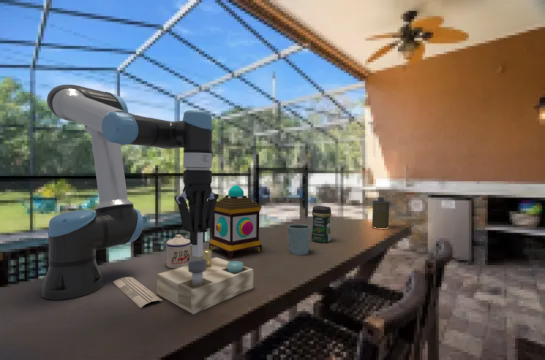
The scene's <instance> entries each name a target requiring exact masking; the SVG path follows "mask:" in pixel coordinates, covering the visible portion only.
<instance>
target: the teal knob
mask: <svg viewBox="0 0 545 360" xmlns="http://www.w3.org/2000/svg"><path fill="white" fill-rule="evenodd" d="M243 266H244V263H243V262H242V261H239V260H234V261H233V260H232V261H230V262H228V263H227V272H229V273H232V274H237V273H240V272H243Z"/></svg>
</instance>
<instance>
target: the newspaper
mask: <svg viewBox="0 0 545 360" xmlns="http://www.w3.org/2000/svg"><path fill="white" fill-rule="evenodd" d="M113 284H114V285H115V286H116V287H117V288H118V290H120V291H121V292H122V293H123V294H124V295H126V297H127V298H128V299H130V300H131V301H132V302H133V304H135V305H137V307H138V308H139V309H143V308H144V306H145V305H147V304H150V303H151V302H152V303H153V302H160V303H163V302H164V300H163V299H161V298H160V297H159V295H157V294H155V293H154V292H153V291H152V290H150V289H148V288H147V287H146V285H145V286H144V285H143V284H142V283H141V282H139V280H136V279H135V278H134V277H132V276H125V277H121V278H118V279H115V280H114V281H113Z"/></svg>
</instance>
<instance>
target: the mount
mask: <svg viewBox="0 0 545 360" xmlns="http://www.w3.org/2000/svg"><path fill="white" fill-rule="evenodd" d="M228 262H231V261H230V260H226V259H223V258H221V257H220V258H219V257H217V256H216V257H212V262H211V267H208V268H206V271H204V272H203V284H202V285H201V286H192V273H191V272H189V271H188V265H187V266H184V267H180V268H172V269H170V270H167V271H164V272H160V273H156V275H157V277H156V279H157V281H156V282H157V284H156V285H157V286H156V287H157V289H156V290H157V291H156V293H157V294H156V295H157V296H160V297H161V298H163V299H166V301H169V302H170V303H173V305H176V306H177V307H180V308H181V309H183V310H185V311H187V312H188V313H190V314H192V315H195V314H198V313H199V312H203V311H204V310H207V309H210V308H211V307H213V306H215V305H218V304H220V303H222V302H224V301H227V300H229V299H231V298H233V297H236V296H238V295H240V294H241V295H242V294H243V293H245V292H247V291H250V290H252V289H254V269H253V268H251V267H248V266H245V265H243V272H240V273H237V274H232V273H229V272H227V263H228Z"/></svg>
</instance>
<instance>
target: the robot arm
mask: <svg viewBox="0 0 545 360" xmlns="http://www.w3.org/2000/svg"><path fill="white" fill-rule="evenodd" d="M46 104H47V106H48V110H50V112H51V113H52V114H53V115H54V116H56V117H57V118H60V119H62V120H65V121H67V122H77V123H79V124H81V125H84V130H85V131H86V132H87V133H88V134H89V135H90V137H91V146H92V153H93V154H92V155H93V162H94V167H95V168H94V169H95V176H96V177H95V178H96V185H97V193H98V200H99V201H98V202H99V203H98V205H96V207H95V208H94V210H93V209H80V210H73V211H68V212H64V213H60V214H57V215H55V216H53V217H51V218H50V219H49V222H48V231H47V237H48V270H47V272H46V275H45V277H44V281H43V283H42V286H41V297H42V298H44V299H46V300H51V301H53V300H55V301H59V300H60V301H61V300H67V299H68V300H69V299H76V298H78V297H82V296H85V295H89V294H91V293H94V292H95V291H97V290H99V289H100V288H101V287H102V286H103V276H102V273H101V270H100V268H99V265H98V263H97V261H96V257H97V256H96V255H97V254H96V251H98V250H103V249H104V250H105V249H108V248H113V247H117V246H118V247H119V246H123V245H127V244H130V243H133V242H135V241H136V240H137V239H139V237H140V236H141V234H142V232H143V228H144V218H143V215H142V213H141V211H139V209H137V208H135V207H134V203H133V201H132V202H131V201H130V200H129V199H128V191H127V185H126V184H127V183H126V177H125V171H124V170H125V168H124V162H123V154H122V153H123V152H122V146H127V145H128V146H129V145H131V146H145V147H153V148H159V149H166V150H167V149H168V150H172V149H183V151H182V152H183V155H182V156H183V158H182V159H183V161H182V162H183V164H182V167H183V168H184V170H183V174H182V175H183V180H182V181H183V185H184V186H183V189H182V192H181V194H179V195H176V196H174V201H175V202H176V204H177V206H178V211H179V215H180V221H181V225H182V230H183V231H184V232H188V233H189V235H190V236H189V240H190V243H191V245H192V246H191V248H192V249H191V251H192V257H196V258H202V256H203V250H204V243H205V242H206V233H208V230H209V229H211V228H212V226H213V215H214V210H215V205H216V201H218V199H219V196H220V195H219V194H218V193H215V192H214V191H213V188H212V186H211V185H212V182H213V171H212V170H211V169H212V168H213V129H214V128H213V116H212V114H211V113H210V112H208V111H205V110H199V109H198V110H197V109H192V110H189V109H188V110H186V111H185V112H183V117H182V120H177V121H175V120H174V121H173V120H172V121H171V120H164V119H160V118H159V119H158V118H154V117H148V116H143V115H138V114H134V113H131V112H129V109H128V106H127V103H126V101H125V100H124V98H123V97H121V96H120V95H117V94H115V93H111V92H109V91H102V90H99V89H94V88H89V87H84V86H80V85H76V84H61V85H57V86H55V87H53V88H51V90H50V91H49V92H48V94H47V98H46Z"/></svg>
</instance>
